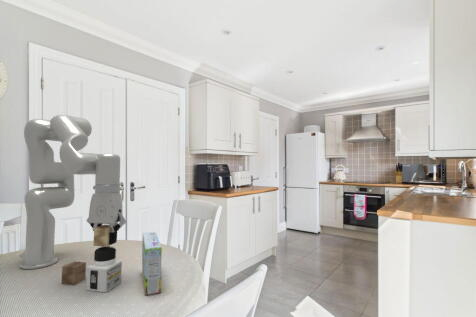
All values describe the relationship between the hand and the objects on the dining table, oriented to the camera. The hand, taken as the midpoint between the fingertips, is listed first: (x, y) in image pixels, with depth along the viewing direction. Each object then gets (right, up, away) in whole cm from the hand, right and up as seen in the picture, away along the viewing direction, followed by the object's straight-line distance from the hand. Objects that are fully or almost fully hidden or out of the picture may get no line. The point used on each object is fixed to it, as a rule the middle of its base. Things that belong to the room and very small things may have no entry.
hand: (105, 242), depth 87 cm
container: (0, -15, -1) cm, 15 cm away
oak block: (0, -1, 0) cm, 1 cm away
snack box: (+14, -15, +4) cm, 21 cm away
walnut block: (-13, -15, +3) cm, 20 cm away
